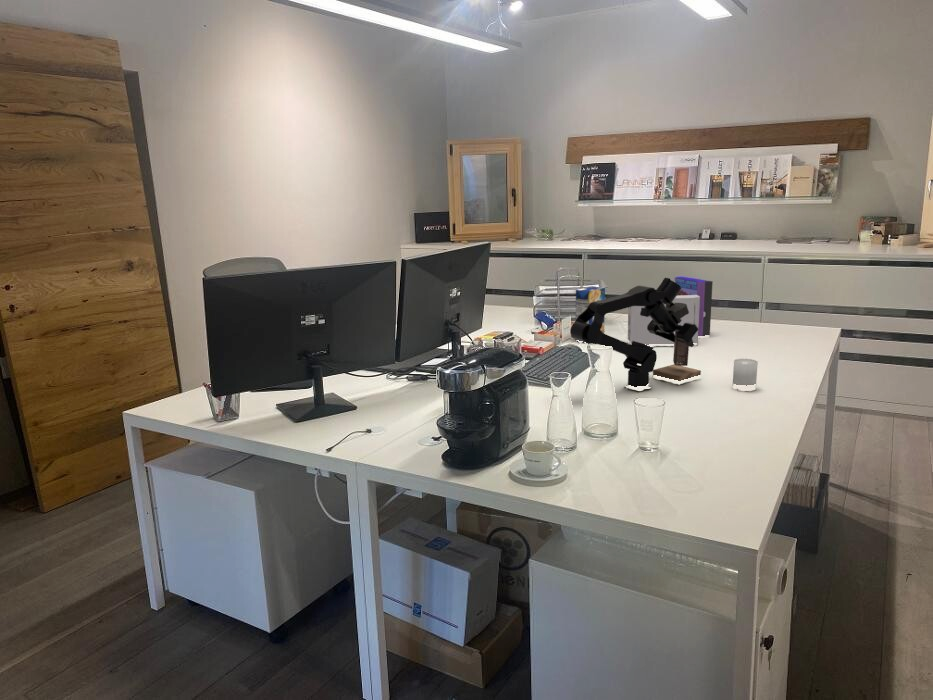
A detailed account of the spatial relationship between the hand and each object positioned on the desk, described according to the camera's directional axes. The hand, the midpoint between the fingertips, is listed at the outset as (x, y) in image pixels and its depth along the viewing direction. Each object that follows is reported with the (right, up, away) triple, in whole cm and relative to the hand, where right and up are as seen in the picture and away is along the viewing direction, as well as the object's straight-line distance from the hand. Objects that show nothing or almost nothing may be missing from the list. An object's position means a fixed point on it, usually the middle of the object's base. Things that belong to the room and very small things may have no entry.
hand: (684, 344), depth 235 cm
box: (-1, -7, +1) cm, 7 cm away
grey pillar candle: (+16, -14, -9) cm, 23 cm away
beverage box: (-21, +2, +62) cm, 66 cm away
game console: (+7, 0, +50) cm, 50 cm away
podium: (-2, -12, +4) cm, 12 cm away
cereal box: (+23, +4, +67) cm, 71 cm away
